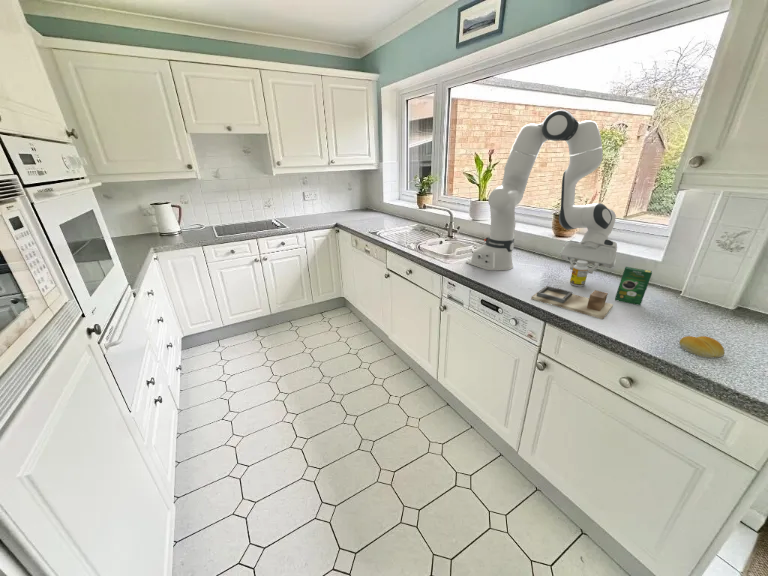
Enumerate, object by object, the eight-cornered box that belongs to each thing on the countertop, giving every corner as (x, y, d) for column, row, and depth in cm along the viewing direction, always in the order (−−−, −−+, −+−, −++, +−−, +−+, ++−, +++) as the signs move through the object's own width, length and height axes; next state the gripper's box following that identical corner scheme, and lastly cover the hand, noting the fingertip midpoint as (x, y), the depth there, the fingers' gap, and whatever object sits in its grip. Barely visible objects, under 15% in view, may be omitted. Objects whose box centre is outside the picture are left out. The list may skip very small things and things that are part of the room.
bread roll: (671, 342, 94) (676, 330, 92) (704, 343, 93) (710, 331, 91) (693, 358, 86) (698, 346, 85) (729, 360, 85) (736, 347, 84)
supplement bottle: (569, 281, 138) (574, 258, 134) (583, 283, 136) (589, 260, 132) (570, 285, 134) (575, 262, 130) (585, 287, 132) (591, 264, 128)
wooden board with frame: (531, 298, 123) (533, 284, 120) (544, 289, 131) (546, 275, 129) (602, 319, 107) (607, 303, 104) (612, 306, 115) (617, 291, 113)
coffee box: (641, 303, 117) (652, 270, 112) (641, 306, 115) (652, 272, 110) (615, 298, 122) (624, 265, 117) (614, 300, 120) (624, 268, 115)
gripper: (566, 235, 140) (553, 261, 138) (621, 243, 127) (608, 272, 124) (567, 243, 145) (555, 269, 142) (620, 252, 131) (608, 280, 129)
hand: (580, 270), depth 133 cm, fingers closed on supplement bottle, 5 cm apart
